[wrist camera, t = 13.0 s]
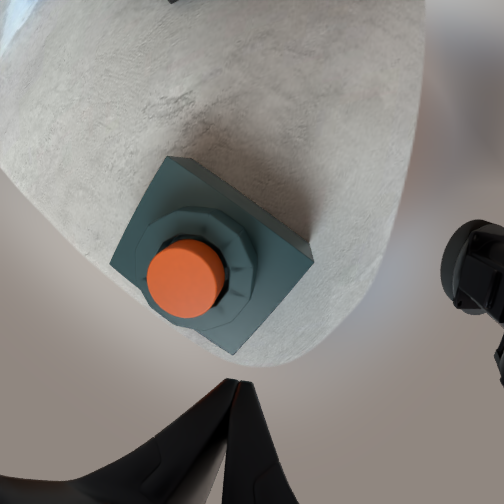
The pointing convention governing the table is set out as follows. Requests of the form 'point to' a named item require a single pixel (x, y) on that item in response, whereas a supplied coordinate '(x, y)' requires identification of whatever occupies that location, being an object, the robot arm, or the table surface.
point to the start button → (186, 278)
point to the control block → (214, 248)
